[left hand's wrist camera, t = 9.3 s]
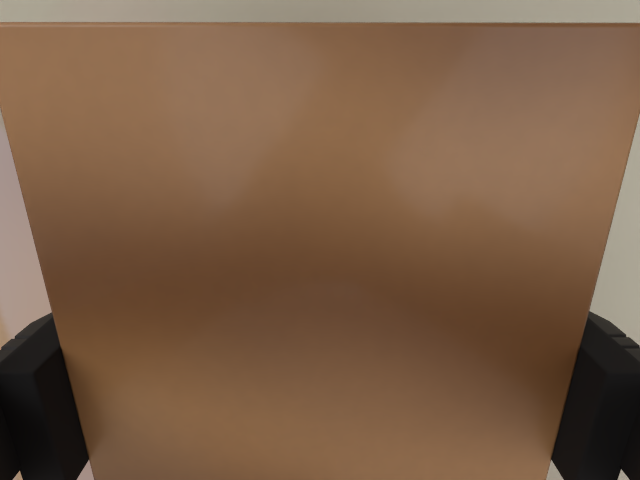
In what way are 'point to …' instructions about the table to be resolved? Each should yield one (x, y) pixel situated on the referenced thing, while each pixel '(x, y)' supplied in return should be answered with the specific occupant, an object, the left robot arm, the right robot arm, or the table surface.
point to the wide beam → (320, 236)
